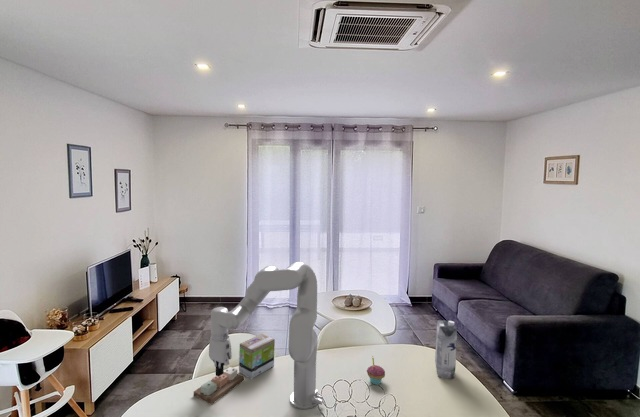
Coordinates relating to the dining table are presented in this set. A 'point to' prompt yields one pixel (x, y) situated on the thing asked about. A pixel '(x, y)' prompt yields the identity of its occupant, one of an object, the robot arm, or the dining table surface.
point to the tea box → (256, 355)
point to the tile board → (219, 390)
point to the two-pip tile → (230, 373)
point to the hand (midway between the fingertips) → (219, 374)
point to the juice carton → (446, 349)
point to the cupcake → (375, 373)
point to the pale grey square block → (208, 388)
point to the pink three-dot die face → (220, 380)
